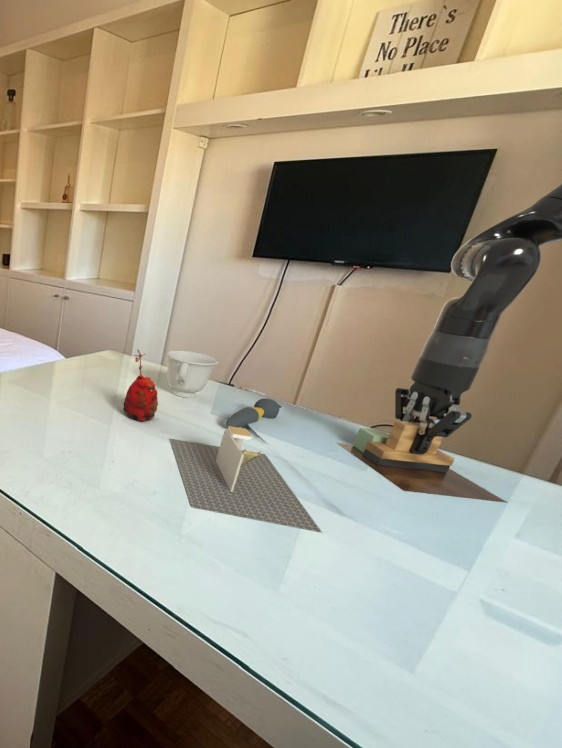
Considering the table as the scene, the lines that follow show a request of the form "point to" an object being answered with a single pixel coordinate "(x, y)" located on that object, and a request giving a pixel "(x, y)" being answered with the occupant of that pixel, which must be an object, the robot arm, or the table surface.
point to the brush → (407, 450)
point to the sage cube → (369, 437)
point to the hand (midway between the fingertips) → (409, 448)
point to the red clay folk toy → (141, 397)
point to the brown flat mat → (427, 480)
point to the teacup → (188, 372)
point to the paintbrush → (254, 413)
